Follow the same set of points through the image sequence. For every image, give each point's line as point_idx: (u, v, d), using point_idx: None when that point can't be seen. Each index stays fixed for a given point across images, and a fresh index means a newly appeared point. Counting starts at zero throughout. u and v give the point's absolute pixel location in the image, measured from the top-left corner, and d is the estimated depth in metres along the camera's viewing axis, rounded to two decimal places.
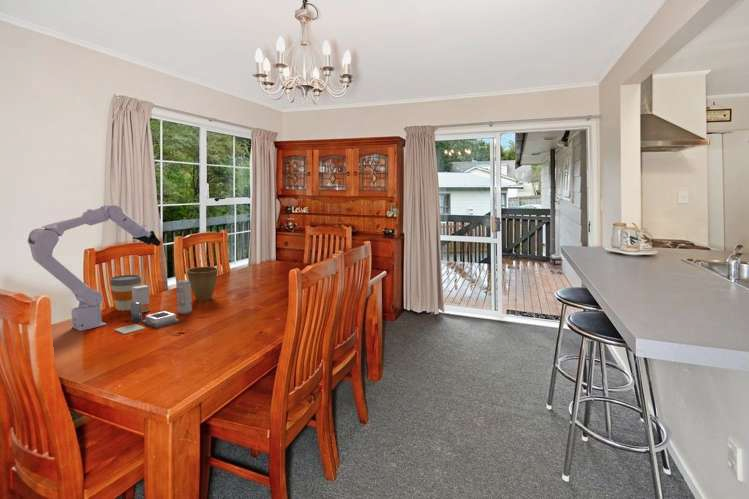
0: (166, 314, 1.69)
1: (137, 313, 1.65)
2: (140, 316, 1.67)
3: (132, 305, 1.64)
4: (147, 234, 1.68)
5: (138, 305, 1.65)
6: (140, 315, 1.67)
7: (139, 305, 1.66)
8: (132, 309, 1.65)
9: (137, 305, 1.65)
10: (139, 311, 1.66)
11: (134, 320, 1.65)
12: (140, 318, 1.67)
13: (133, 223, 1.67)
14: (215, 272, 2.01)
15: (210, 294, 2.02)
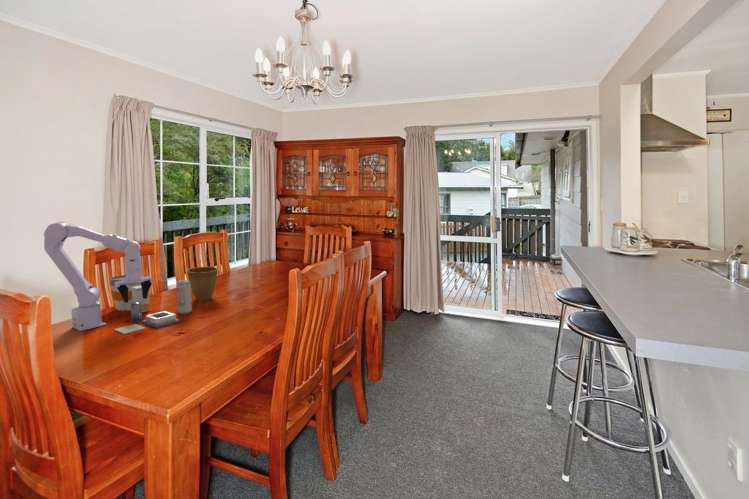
0: (166, 314, 1.69)
1: (137, 313, 1.65)
2: (140, 316, 1.67)
3: (132, 305, 1.64)
4: (115, 283, 1.59)
5: (138, 305, 1.65)
6: (140, 315, 1.67)
7: (139, 305, 1.66)
8: (132, 309, 1.65)
9: (137, 305, 1.65)
10: (139, 311, 1.66)
11: (134, 320, 1.65)
12: (140, 318, 1.67)
13: (135, 269, 1.62)
14: (215, 272, 2.01)
15: (210, 294, 2.02)
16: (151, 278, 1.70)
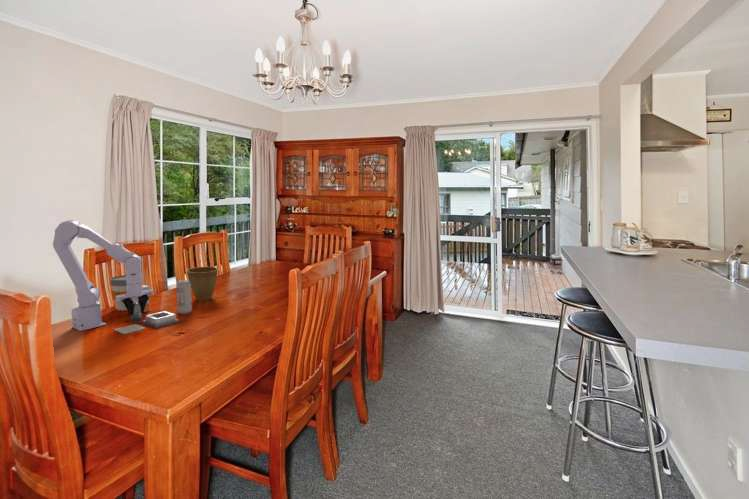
0: (166, 314, 1.69)
1: (137, 313, 1.65)
2: (140, 316, 1.67)
3: None
4: (116, 297, 1.60)
5: (138, 305, 1.65)
6: (140, 315, 1.67)
7: (139, 305, 1.66)
8: None
9: (137, 305, 1.65)
10: (139, 311, 1.66)
11: (134, 320, 1.65)
12: (140, 318, 1.67)
13: (136, 282, 1.63)
14: (215, 272, 2.01)
15: (210, 294, 2.02)
16: (152, 291, 1.71)
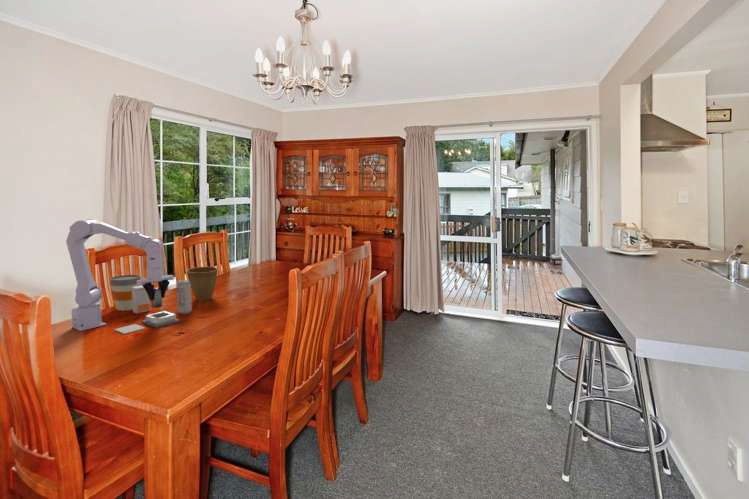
0: (166, 314, 1.69)
1: (158, 299, 1.64)
2: (161, 301, 1.65)
3: None
4: (137, 282, 1.58)
5: (159, 290, 1.64)
6: (161, 300, 1.65)
7: (160, 290, 1.64)
8: None
9: (158, 291, 1.63)
10: (160, 296, 1.64)
11: (155, 306, 1.63)
12: (161, 304, 1.65)
13: (155, 267, 1.61)
14: (215, 272, 2.01)
15: (210, 294, 2.02)
16: (172, 276, 1.69)
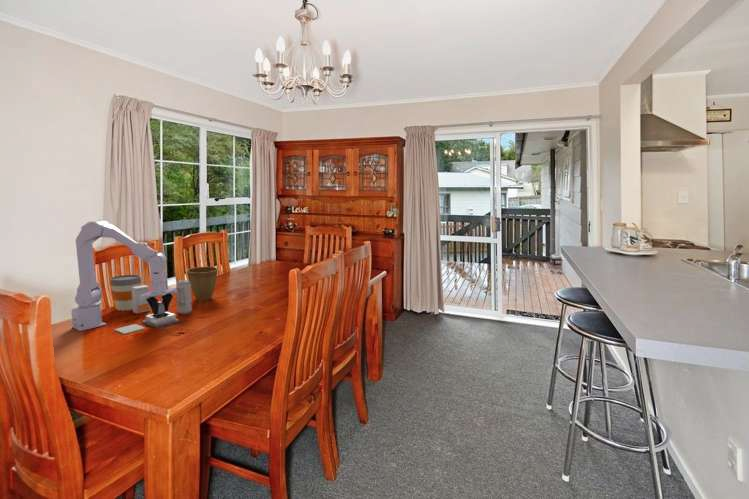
0: (166, 314, 1.69)
1: (161, 313, 1.64)
2: (164, 315, 1.66)
3: None
4: (141, 296, 1.58)
5: (162, 304, 1.64)
6: (164, 314, 1.66)
7: (163, 304, 1.65)
8: None
9: (161, 305, 1.64)
10: (163, 310, 1.65)
11: None
12: None
13: (159, 281, 1.61)
14: (215, 272, 2.01)
15: (210, 294, 2.02)
16: (175, 290, 1.69)
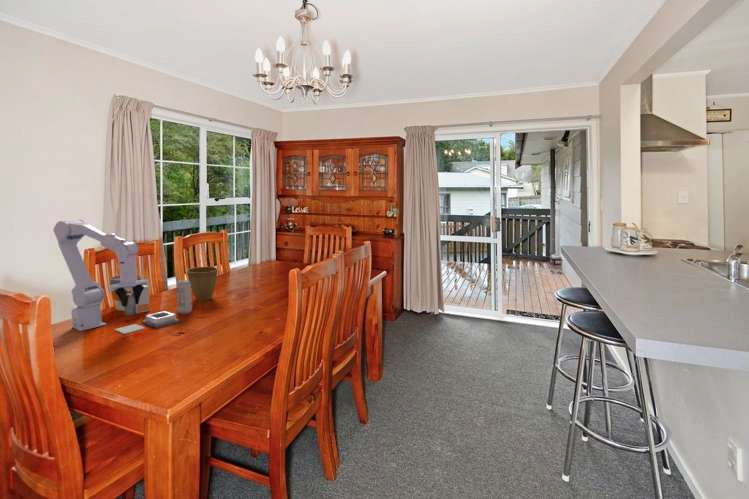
0: (166, 314, 1.69)
1: (131, 306, 1.55)
2: (135, 308, 1.56)
3: (126, 297, 1.54)
4: (108, 287, 1.49)
5: (132, 297, 1.55)
6: (135, 307, 1.56)
7: (133, 297, 1.55)
8: (126, 301, 1.54)
9: (131, 297, 1.54)
10: (133, 303, 1.55)
11: (128, 313, 1.54)
12: (135, 311, 1.56)
13: (124, 272, 1.51)
14: (215, 272, 2.01)
15: (210, 294, 2.02)
16: (147, 281, 1.60)
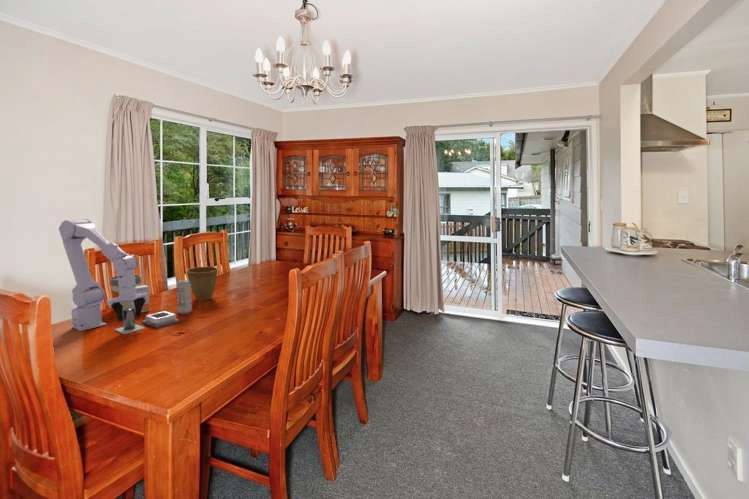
0: (166, 314, 1.69)
1: (130, 321, 1.55)
2: (133, 323, 1.56)
3: (125, 312, 1.54)
4: (107, 301, 1.49)
5: (131, 312, 1.55)
6: (133, 322, 1.56)
7: (132, 312, 1.55)
8: (125, 316, 1.54)
9: (130, 312, 1.55)
10: (132, 318, 1.55)
11: (127, 328, 1.55)
12: (134, 326, 1.56)
13: (123, 286, 1.51)
14: (215, 272, 2.01)
15: (210, 294, 2.02)
16: (146, 295, 1.60)
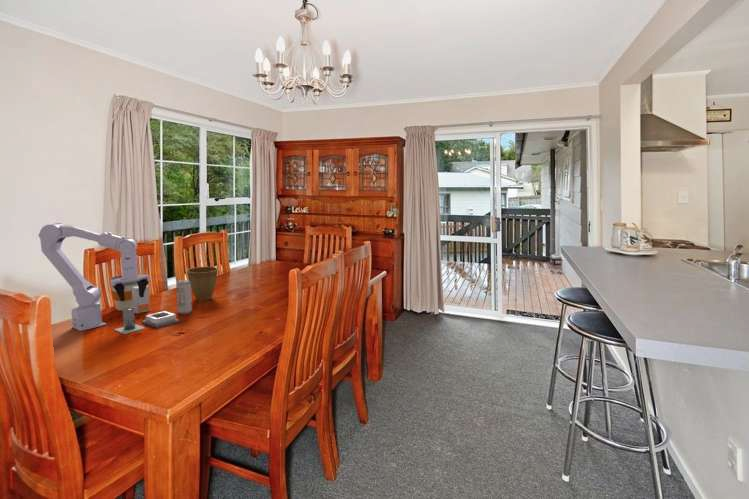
0: (166, 314, 1.69)
1: (130, 320, 1.55)
2: (133, 323, 1.56)
3: (125, 312, 1.54)
4: (111, 282, 1.57)
5: (131, 311, 1.55)
6: (133, 322, 1.56)
7: (132, 311, 1.55)
8: (125, 316, 1.54)
9: (130, 312, 1.55)
10: (132, 318, 1.55)
11: (127, 328, 1.55)
12: (133, 326, 1.56)
13: (130, 267, 1.60)
14: (215, 272, 2.01)
15: (210, 294, 2.02)
16: (148, 276, 1.68)
